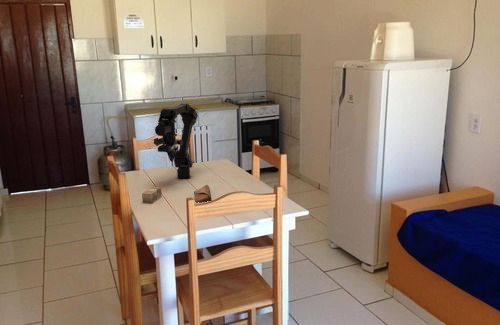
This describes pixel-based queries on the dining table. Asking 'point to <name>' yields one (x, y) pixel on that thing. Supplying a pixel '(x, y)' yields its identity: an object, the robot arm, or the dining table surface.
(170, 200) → the dining table surface
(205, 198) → the sunglasses case
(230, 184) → the dining table surface
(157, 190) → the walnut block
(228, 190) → the dining table surface
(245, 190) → the dining table surface
